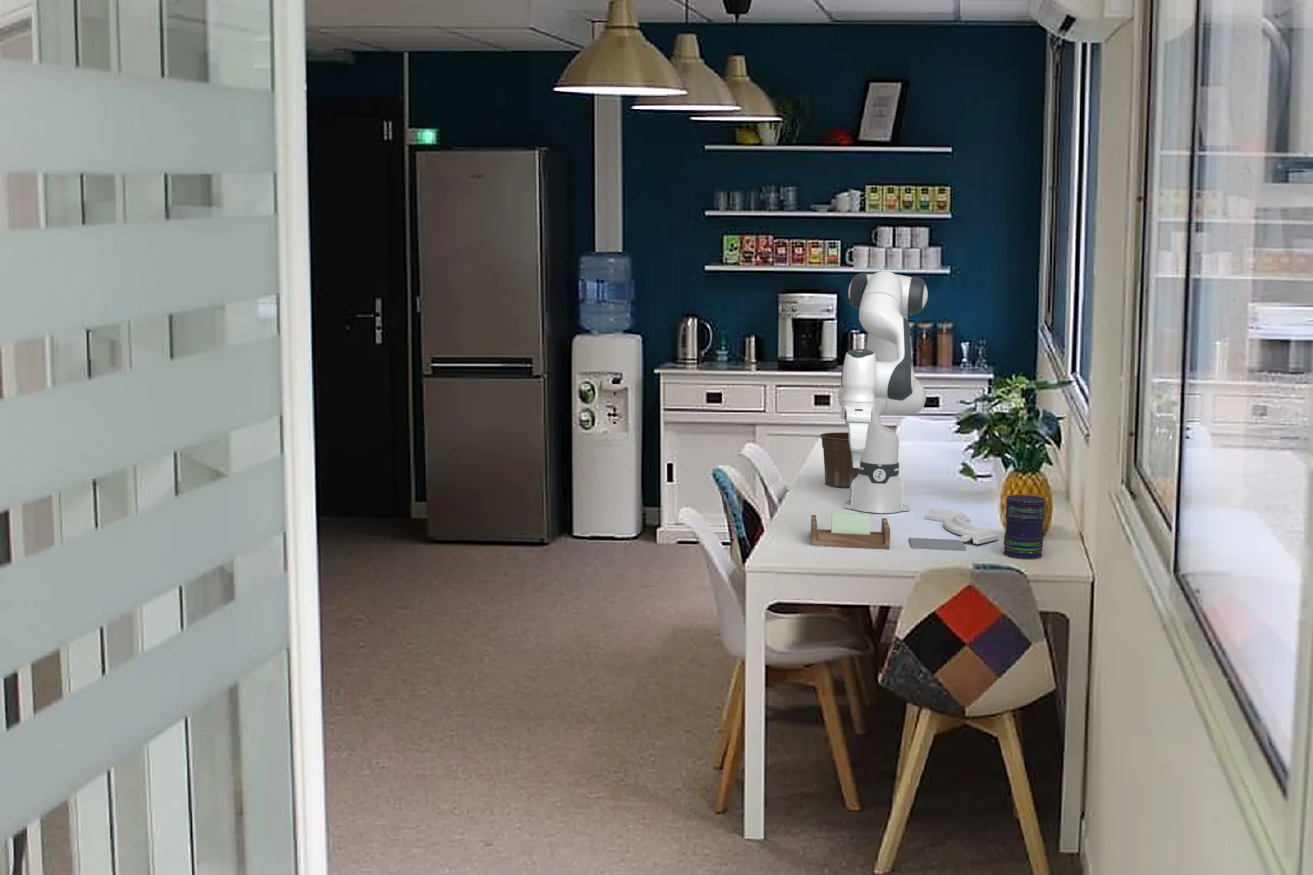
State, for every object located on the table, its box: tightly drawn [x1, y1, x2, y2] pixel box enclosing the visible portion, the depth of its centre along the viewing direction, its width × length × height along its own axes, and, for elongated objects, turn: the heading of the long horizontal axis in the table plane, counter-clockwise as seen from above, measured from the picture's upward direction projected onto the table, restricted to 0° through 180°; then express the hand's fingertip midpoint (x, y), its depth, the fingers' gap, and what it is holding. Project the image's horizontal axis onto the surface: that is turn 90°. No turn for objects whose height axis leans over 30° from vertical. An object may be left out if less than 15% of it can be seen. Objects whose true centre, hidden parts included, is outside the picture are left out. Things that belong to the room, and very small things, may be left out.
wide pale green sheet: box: [830, 511, 872, 535], centre depth 424 cm, size 2×10×7 cm, turn 86°
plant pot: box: [819, 431, 859, 489], centre depth 518 cm, size 16×16×16 cm
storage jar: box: [1003, 494, 1046, 561], centre depth 416 cm, size 10×10×15 cm
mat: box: [908, 537, 967, 551], centre depth 427 cm, size 11×14×1 cm
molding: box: [924, 507, 1000, 545], centre depth 448 cm, size 42×12×3 cm, turn 6°
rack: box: [810, 514, 891, 550], centre depth 428 cm, size 16×20×5 cm
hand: (855, 465), depth 422 cm, fingers open, 8 cm apart
